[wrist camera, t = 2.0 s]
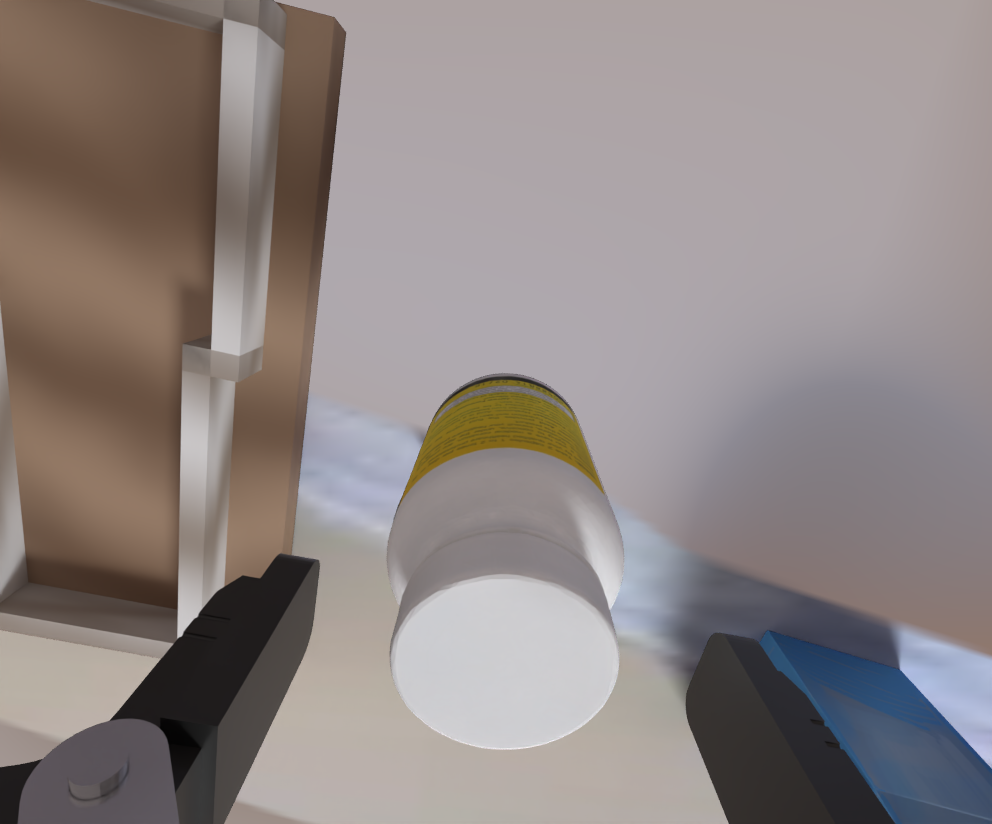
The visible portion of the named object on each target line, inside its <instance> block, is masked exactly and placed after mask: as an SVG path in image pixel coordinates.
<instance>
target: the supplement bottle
mask: <svg viewBox="0 0 992 824" xmlns="http://www.w3.org/2000/svg"><path fill="white" fill-rule="evenodd" d="M387 568H388V575H389V580H390V584H391V588H392V591H393V593H394V596H395V598H396V600H397V602H398V605H399V606H400V608H399V613H398V617H397V621H396V625H395V628H394V632H393V635H392V639H391V646H390V667H391V672H392V676H393V680H394V683H395V686H396V688H397V691H398V693H399V694H400V696H401V698H402V699H403V701H404V702H405V704H406V705H407V707H408V708H409V709H410V710H411V711H412V712H413V713H414V714H415V716H417V717H418V718H419V719H420V720H421V721H423V722H424V723H425V724H426V725H428V726H429V727H430V728H432V729H433V730H435V731H437V732H438V733H440V734H442V735H444V736H446V737H449V738H451V739H453V740H456V741H458V742H461V743H464V744H468V745H472V746H476V747H480V748H488V749H503V750H507V749H522V748H529V747H535V746H539V745H543V744H547V743H549V742H552V741H555V740H558V739H560V738H562V737H564V736H566V735H568V734H570V733H572V732H574V731H576V730H577V729H579V728H580V727H581V726H583V725H584V724H586V723H587V722H588V721H589V720H590V719H592V718H593V717H594V716H595V715H596V714H597V712H598V711H599V710H600V709H601V708H602V707H603V706H604V704H605V703H606V701H607V699H608V698H609V696H610V694H611V692H612V690H613V688H614V686H615V683H616V679H617V676H618V669H619V647H618V642H617V637H616V633H615V629H614V625H613V621H612V617H611V613H610V610H611V608H612V606H613V604H614V602H615V600H616V598H617V595H618V592H619V590H620V586H621V583H622V578H623V573H624V548H623V541H622V537H621V533H620V529H619V526H618V523H617V520H616V517H615V515H614V512H613V510H612V507H611V505H610V502H609V500H608V497H607V495H606V492H605V490H604V487H603V485H602V482H601V480H600V477H599V474H598V471H597V469H596V466H595V463H594V461H593V458H592V455H591V453H590V450H589V448H588V445H587V443H586V440H585V437H584V435H583V432H582V430H581V427H580V424H579V422H578V419H577V417H576V415H575V413H574V412H573V410H572V409H571V407H570V406H569V404H568V403H567V402H566V400H565V399H564V398H563V397H562V396H561V395H560V394H559V393H557V392H556V391H555V390H554V389H552V388H551V387H550V386H548V385H547V384H544V383H543V382H541V381H538V380H536V379H534V378H531V377H527V376H524V375H518V374H493V375H487V376H483V377H480V378H478V379H475V380H472V381H471V382H468V383H467V384H465V385H463V386H461V387H460V388H459V389H457V390H456V391H455V392H453V393H452V394H451V395H450V396H449V397H448V398H447V399H446V400H445V401H444V402H443V404H442V405H441V406H440V408H439V409H438V411H437V412H436V414H435V416H434V418H433V420H432V422H431V424H430V426H429V429H428V431H427V434H426V437H425V440H424V442H423V444H422V447H421V449H420V452H419V455H418V457H417V460H416V463H415V465H414V468H413V471H412V473H411V475H410V478H409V481H408V483H407V486H406V488H405V491H404V493H403V496H402V498H401V500H400V503H399V505H398V508H397V511H396V514H395V517H394V521H393V525H392V528H391V531H390V535H389V540H388V546H387Z"/></svg>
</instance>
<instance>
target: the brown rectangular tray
mask: <svg viewBox="0 0 992 824" xmlns="http://www.w3.org/2000/svg"><path fill="white" fill-rule="evenodd" d="M345 38H346V32H345V31H344V29H343V28H342V27H341V25H340V24H339V23H338V21H337V20H336V19H335V17H331V16H327V15H324V14H320V13H316V12H312V11H308V10H304V9H301V8H297V7H293V6H289V5H285V4H281V3H277V2H275V1H274V0H0V630H3V631H8V632H14V633H20V634H25V635H31V636H36V637H42V638H48V639H53V640H59V641H65V642H70V643H76V644H82V645H87V646H93V647H98V648H104V649H110V650H115V651H121V652H127V653H132V654H138V655H143V656H149V657H155V658H160V659H161V658H162V657H163V656H164V655H165V654H166V652H167V651H168V650H169V649H170V647H171V646H172V645H173V644H174V643H175V641H176V640H177V639H178V638H179V637H182V635H183V632H184V630H185V629H186V628H187V627H188V626H189V624H190V623H191V622H192V621H193V619H194V618H197V617H198V614H199V612H200V611H201V610H202V609H203V607H204V606H205V605H206V604H207V602H208V601H209V600H210V599H211V598H212V596H213V595H214V594H215V593H216V592H217V591H218V590H220V589H221V588H223V587H225V586H226V585H228V584H229V583H231V582H233V581H234V580H236V579H238V578H239V577H241V576H242V575H244V576H249V577H255V578H261V577H262V575H263V574H264V572H265V571H266V570H267V568H268V567H269V565H270V564H271V563H272V561H273V560H274V559H275V557H276V556H277V555H278V554H280V553H282V554H288V555H291V553H292V544H293V534H294V525H295V515H296V506H297V496H298V487H299V477H300V467H301V458H302V448H303V439H304V429H305V420H306V410H307V401H308V391H309V382H310V372H311V362H312V353H313V343H314V334H315V333H314V332H315V324H316V315H317V305H318V295H319V286H320V277H321V267H322V257H323V248H324V239H325V228H326V220H327V210H328V200H329V190H330V181H331V171H332V162H333V153H334V143H335V134H336V133H335V132H336V124H337V115H338V114H337V113H338V104H339V95H340V85H341V76H342V67H343V57H344V48H345Z"/></svg>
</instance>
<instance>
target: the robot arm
mask: <svg viewBox="0 0 992 824" xmlns="http://www.w3.org/2000/svg"><path fill="white" fill-rule="evenodd" d="M319 569H320V563H319V560H316V559H310V558H304V557H299V556H293V555H288V554H282V553H280V554H278V555H277V556H276V557H275V559H274V560H273V561H272V563H271V564H270V565H269V567H268V568H267V570H266V571H265V572H264V574H263V575H262V577H261V578H255V577H249V576H244V575H242V576H241V577H239V578H238V579H236V580H234V581H233V582H231V583H229V584H228V585H226V586H225V587H223V588H221V589H220V590H218V591H217V592H216V593H215V594H214V595H213V596H212V598H211V599H210V600H209V601H208V602H207V604H206V605H205V606H204V607H203V609H202V610H201V611H200V612H199V614H198V617H197V618H194V619H193V621H192V622H191V623H190V624H189V626H188V627H187V628H186V629H185V630H184V632H183V635H182V637H179V638H178V639H177V640H176V641H175V643H174V644H173V645H172V646H171V647H170V649H169V650H168V651H167V652H166V654H165V655H164V656H163V657H162V658H161V660H160V661H159V662H158V663H157V665H156V666H155V667H154V668H153V669H152V671H151V672H150V673H149V674H148V675H147V677H146V678H145V679H144V680H143V682H142V683H141V684H140V685H139V686H138V688H137V689H136V690H135V691H134V693H133V694H132V695H131V696H130V697H129V699H128V700H127V701H126V702H125V703H124V705H123V706H122V707H121V708H120V710H119V711H118V712H117V713H116V714H115V715H114V716H113V717H112V718H111V720H110V721H108V722H104V723H100V724H97V725H95V726H92V727H89V728H87V729H85V730H83V731H81V732H79V733H77V734H75V735H73V736H72V737H70V738H68V739H67V740H65V741H64V742H62V743H61V744H60V745H58V746H57V747H56V748H54V749H53V750H52V751H51V752H50V753H49V754H48V755H47V756H46V757H44V759H41V760H38V761H34V762H30V763H25V764H20V765H14V766H6V767H0V824H224V822H225V820H226V818H227V816H228V814H229V812H230V810H231V808H232V806H233V803H234V802H235V799H236V797H237V795H238V793H239V791H240V789H241V787H242V785H243V783H244V781H245V778H246V776H247V774H248V772H249V770H250V768H251V766H252V764H253V762H254V760H255V757H256V755H257V753H258V751H259V749H260V747H261V745H262V743H263V741H264V739H265V737H266V734H267V732H268V730H269V728H270V726H271V724H272V722H273V720H274V718H275V716H276V713H277V711H278V709H279V707H280V705H281V703H282V701H283V699H284V697H285V695H286V692H287V690H288V688H289V686H290V684H291V682H292V680H293V678H294V676H295V674H296V671H297V669H298V667H299V665H300V663H301V661H302V659H303V657H304V654H305V652H306V649H307V646H308V643H309V639H310V636H311V632H312V627H313V620H314V612H315V604H316V595H317V587H318V578H319ZM686 714H687V719H688V723H689V726H690V728H691V731H692V733H693V736H694V738H695V741H696V743H697V746H698V748H699V751H700V753H701V756H702V758H703V760H704V763H705V765H706V768H707V770H708V773H709V775H710V778H711V780H712V783H713V785H714V788H715V790H716V793H717V795H718V798H719V800H720V803H721V805H722V808H723V810H724V813H725V815H726V818H727V820H728V823H729V824H895V822H894V821H893V820H892V818H891V817H890V815H889V814H888V812H887V811H886V809H885V808H884V807H883V805H882V804H881V802H880V801H879V799H878V798H877V796H876V795H875V794H874V792H873V791H872V789H871V788H870V786H869V785H868V783H867V782H866V781H865V779H864V778H863V776H862V775H861V773H860V772H859V770H858V769H857V768H856V766H855V765H854V763H853V762H852V760H851V759H850V757H849V756H848V755H847V753H846V752H845V750H844V749H841V748H840V743H839V742H838V740H837V739H836V737H835V736H834V734H833V733H832V731H831V730H830V729H829V727H827V726H825V725H824V722H825V721H824V720H823V718H822V717H821V716H820V714H819V713H818V711H817V710H816V708H815V707H814V705H813V704H812V703H811V701H810V700H809V698H808V697H807V695H806V694H805V693H804V692H803V691H802V690H800V689H799V688H798V687H797V686H796V685H795V684H794V683H793V682H792V681H791V680H790V679H789V678H788V677H787V676H786V675H785V674H784V673H783V672H781V671H778V670H777V669H776V667H775V666H774V664H773V663H772V661H771V660H770V658H769V657H768V655H767V654H766V652H765V651H764V649H763V648H762V646H761V645H760V644H759V643H758V642H757V641H756V640H754V639H750V638H744V637H739V636H733V635H728V634H722V633H715V634H713V635H712V636H711V637H710V638H709V640H708V643H707V645H706V647H705V650H704V652H703V654H702V657H701V659H700V661H699V664H698V666H697V669H696V671H695V673H694V676H693V678H692V680H691V683H690V685H689V687H688V690H687V695H686Z"/></svg>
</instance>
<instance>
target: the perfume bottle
mask: <svg viewBox="0 0 992 824" xmlns="http://www.w3.org/2000/svg"><path fill="white" fill-rule="evenodd" d="M759 644H760V645H761V646H762V648H763V649H764V651H765V652H766V654H767V655H768V657H769V658H770V660H771V661H772V663H773V664H774V666H775V667H776V669H777V670H778V671H781V672H783V673H784V674H785V675H786V676H787V677H788V678H789V679H790V680H791V681H792V682H793V683H794V684H795V685H796V686H797V687H798V688H799V689H800V690H802V691H803V692H804V693H805V694H806V695H807V697H808V698H809V700H810V701H811V703H812V704H813V705H814V707H815V708H816V710H817V711H818V713H819V714H820V716H821V717H822V718H823V720H824V721H825V722H824V725H825V726H827V727H829V729H830V730H831V731H832V733H833V734H834V736H835V737H836V739H837V740H838V742H839V743H840V748H841V749H844V750H845V752H846V753H847V755H848V756H849V757H850V759H851V760H852V762H853V763H854V765H855V766H856V768H857V769H858V770H859V772H860V773H861V775H862V776H863V778H864V779H865V781H866V782H867V783H868V785H869V786H870V788H871V789H872V791H873V792H874V794H875V795H876V796H877V798H878V799H879V801H880V802H881V804H882V805H883V807H884V808H885V809H886V811H887V812H888V814H889V815H890V817H891V818H892V820H893V821H894V822H895V824H992V769H991V768H990V766H989V765H988V764H987V763H986V762H985V761H984V760H983V759H982V758H981V757H980V756H979V755H978V754H977V752H976V751H975V750H974V749H973V748H972V747H971V746H970V745H969V744H968V743H967V742H966V741H965V739H964V738H963V737H962V736H961V735H960V734H959V733H958V732H957V731H956V730H955V729H954V728H953V726H952V725H951V724H950V723H949V722H948V721H947V720H946V719H945V718H944V717H943V716H942V715H941V714H940V712H939V711H938V710H937V709H936V708H935V707H934V706H933V705H932V704H931V703H930V702H929V701H928V699H927V698H926V697H925V696H924V695H923V694H922V693H921V692H920V691H919V690H918V689H917V688H916V686H915V685H914V684H913V683H912V682H911V681H910V680H909V679H908V678H907V677H906V676H905V675H904V674H903V672H902V671H901V670H899V669H896V668H892V667H889V666H886V665H882V664H879V663H876V662H872V661H869V660H866V659H862V658H859V657H856V656H852V655H849V654H845V653H842V652H839V651H835V650H832V649H829V648H825V647H822V646H819V645H815V644H812V643H809V642H805V641H802V640H798V639H795V638H792V637H788V636H785V635H782V634H778V633H775V632H772V631H768V630H767V632H766V633H765V635H764V636H763V638H762V639H761V641H760V642H759Z"/></svg>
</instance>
